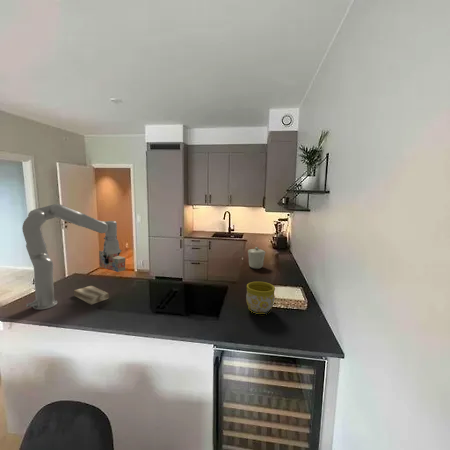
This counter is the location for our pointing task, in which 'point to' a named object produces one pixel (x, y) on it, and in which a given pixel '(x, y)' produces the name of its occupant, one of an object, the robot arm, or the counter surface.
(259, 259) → the canister
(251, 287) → the flowerpot
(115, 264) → the stack of blocks
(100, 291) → the birch plinth
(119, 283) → the counter surface
